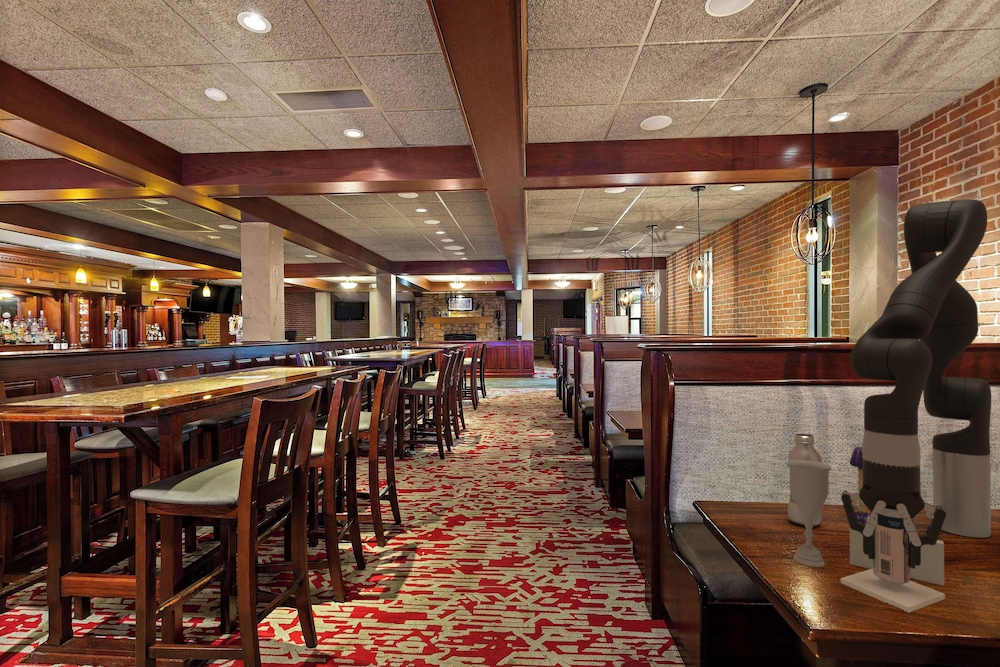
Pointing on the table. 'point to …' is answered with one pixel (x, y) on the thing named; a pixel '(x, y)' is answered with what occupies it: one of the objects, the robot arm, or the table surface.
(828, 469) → the chalice
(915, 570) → the partition
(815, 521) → the plastic bottle
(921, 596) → the tile
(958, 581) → the table surface
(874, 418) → the robot arm
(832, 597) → the table surface
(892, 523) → the beer can
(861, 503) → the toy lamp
